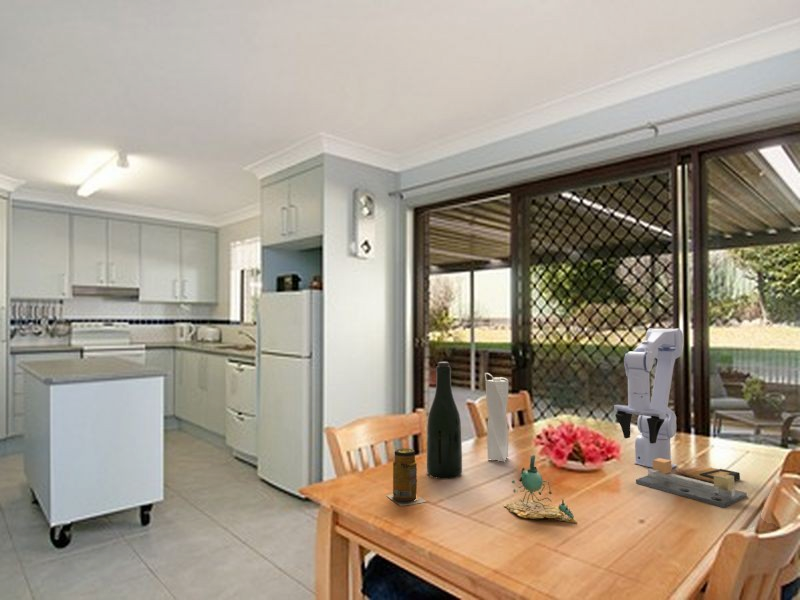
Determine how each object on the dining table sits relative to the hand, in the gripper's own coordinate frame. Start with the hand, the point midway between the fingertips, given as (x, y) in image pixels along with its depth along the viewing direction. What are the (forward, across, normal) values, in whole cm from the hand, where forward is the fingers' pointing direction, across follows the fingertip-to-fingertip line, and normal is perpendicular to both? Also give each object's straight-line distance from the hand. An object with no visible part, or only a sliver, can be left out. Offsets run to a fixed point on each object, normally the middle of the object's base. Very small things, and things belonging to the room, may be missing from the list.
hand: (639, 440), depth 142 cm
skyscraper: (+11, -37, -20) cm, 43 cm away
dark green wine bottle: (+11, -35, -44) cm, 57 cm away
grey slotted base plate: (+10, +13, 0) cm, 17 cm away
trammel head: (+9, +6, -1) cm, 11 cm away
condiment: (+12, -26, -65) cm, 71 cm away
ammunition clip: (+9, +17, +15) cm, 25 cm away
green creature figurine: (+12, 0, -46) cm, 48 cm away
